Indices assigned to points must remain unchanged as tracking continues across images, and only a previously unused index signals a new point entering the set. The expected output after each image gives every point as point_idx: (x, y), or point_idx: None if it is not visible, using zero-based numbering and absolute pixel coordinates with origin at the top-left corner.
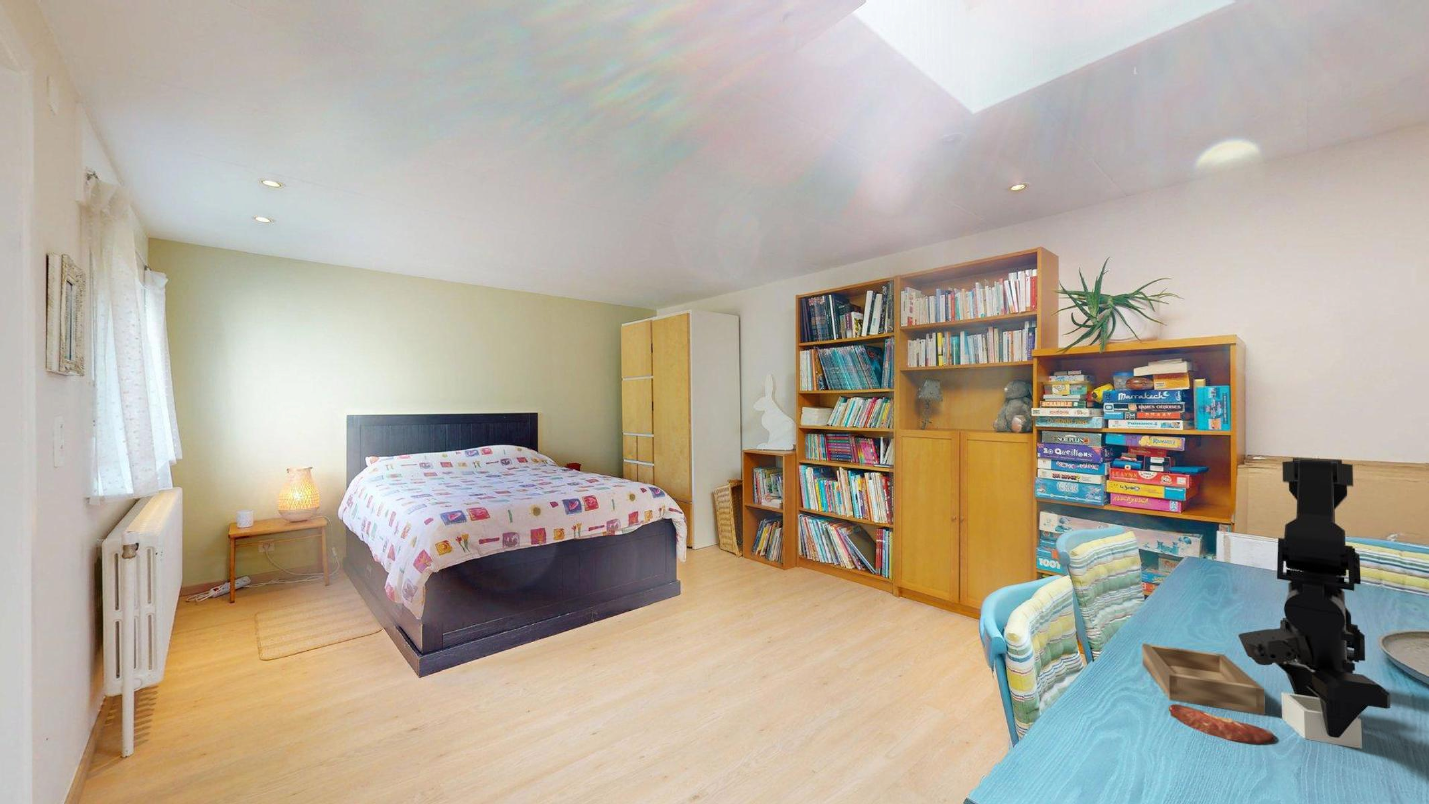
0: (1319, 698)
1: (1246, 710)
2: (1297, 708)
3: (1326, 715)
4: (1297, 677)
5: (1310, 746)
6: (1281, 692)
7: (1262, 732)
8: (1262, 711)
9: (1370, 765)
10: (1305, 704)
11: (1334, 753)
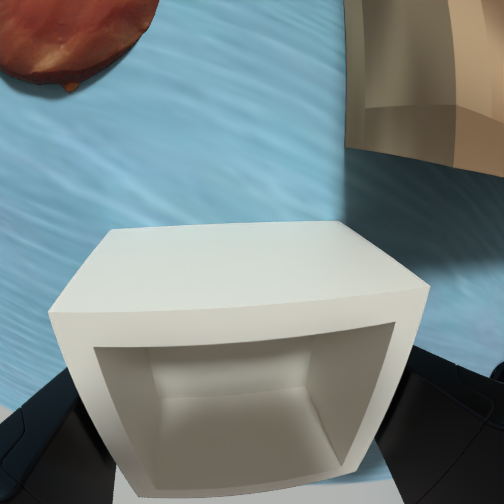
0: (6, 491)
1: (352, 66)
2: (162, 294)
3: (22, 406)
4: (481, 452)
5: (39, 222)
6: (426, 284)
7: (21, 29)
8: (354, 136)
9: (19, 359)
10: (350, 365)
11: (31, 291)
